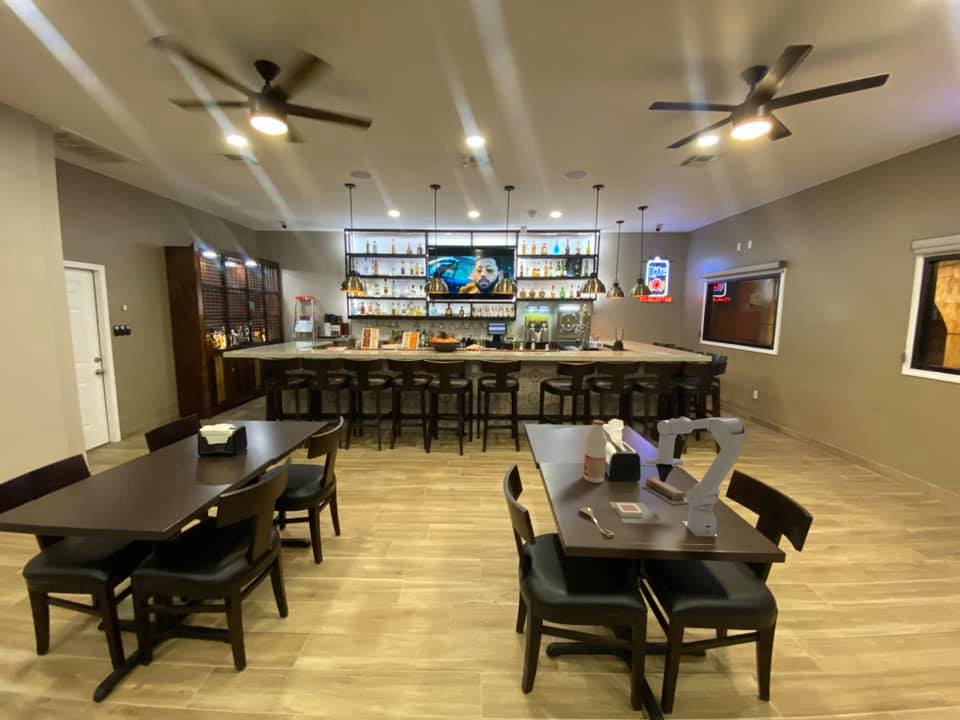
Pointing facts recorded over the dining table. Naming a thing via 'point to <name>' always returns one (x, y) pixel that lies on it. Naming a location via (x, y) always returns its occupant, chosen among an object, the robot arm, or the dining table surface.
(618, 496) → the dining table surface
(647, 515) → the mat
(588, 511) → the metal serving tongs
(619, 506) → the deck
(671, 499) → the packaged product
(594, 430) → the fruit juice
